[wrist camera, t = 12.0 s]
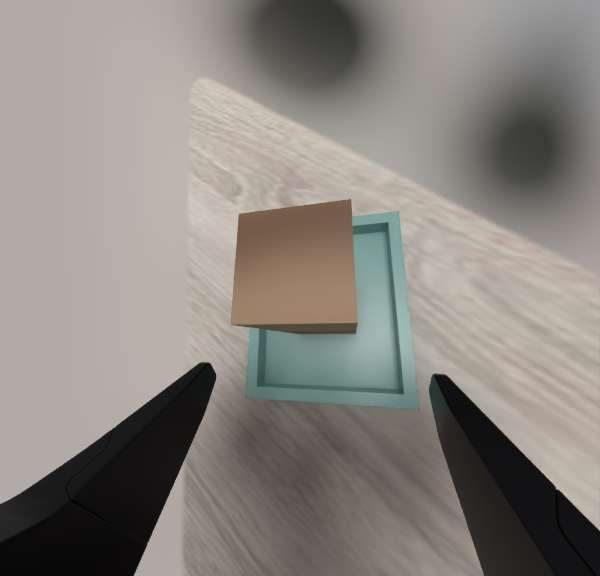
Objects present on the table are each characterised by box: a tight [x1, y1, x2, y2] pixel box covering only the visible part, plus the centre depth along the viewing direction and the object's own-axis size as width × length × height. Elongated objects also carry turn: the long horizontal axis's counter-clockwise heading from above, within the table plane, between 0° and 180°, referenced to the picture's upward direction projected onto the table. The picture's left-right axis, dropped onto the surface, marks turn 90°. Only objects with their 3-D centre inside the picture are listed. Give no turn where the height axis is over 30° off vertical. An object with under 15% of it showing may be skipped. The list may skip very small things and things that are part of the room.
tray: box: [246, 211, 420, 409], centre depth 18 cm, size 14×12×2 cm
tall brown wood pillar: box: [231, 199, 358, 334], centre depth 13 cm, size 4×4×10 cm
